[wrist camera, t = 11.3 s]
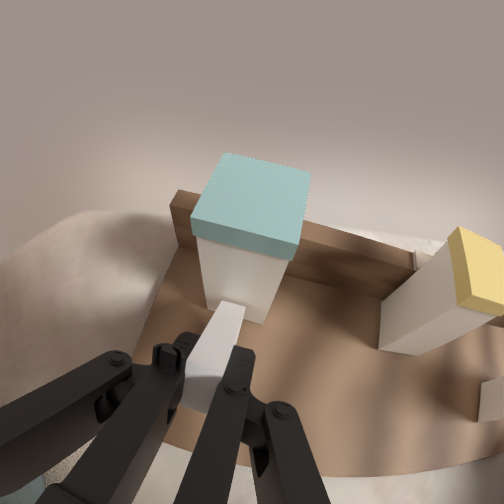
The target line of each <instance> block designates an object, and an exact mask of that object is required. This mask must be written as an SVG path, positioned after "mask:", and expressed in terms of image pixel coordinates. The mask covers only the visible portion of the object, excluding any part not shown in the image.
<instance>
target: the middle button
mask: <svg viewBox="0 0 504 504" xmlns="http://www.w3.org/2000/svg"><path fill="white" fill-rule="evenodd" d="M447 239H448V241H447V242H446V243H445V244H444V245H443V246H442V247H441V248H440V249H439V250H438V251H437V252H436V253H435V254H434V255H433V256H432V257H431V258H430V259H429V260H428V261H427V262H426V263H425V264H424V265H423V266H422V267H421V268H420V269H419V270H418V271H417V272H415V273H414V274H413V275H412V276H411V277H410V278H409V279H408V280H407V281H406V282H404V283H403V284H402V285H401V286H400V287H399V288H398V289H396V290H395V291H394V292H393V293H392V294H391V295H389V296H388V297H387V298H386V299H385V300H384V301H382V302H381V319H380V333H379V345H378V350H384V351H389V352H396V353H402V354H409V355H415V356H419V355H421V354H424V353H426V352H428V351H431V350H433V349H435V348H437V347H439V346H442V345H444V344H446V343H448V342H450V341H452V340H454V339H456V338H458V337H460V336H462V335H464V334H466V333H468V332H470V331H472V330H474V329H476V328H477V327H479V326H481V325H483V324H485V323H486V322H488V321H490V320H492V319H493V318H495V317H497V316H500V317H501V316H502V315H504V256H503V253H502V249H501V246H499V245H497V244H495V243H493V242H491V241H489V240H488V239H486V238H483V237H481V236H479V235H477V234H475V233H473V232H471V231H469V230H467V229H465V228H462V227H460V226H458V227H457V228H456V229H455V230H454V231H453V233H452V234H451V235H450V236H449V237H448V238H447Z"/></svg>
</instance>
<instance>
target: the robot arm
mask: <svg viewBox="0 0 504 504" xmlns="http://www.w3.org/2000/svg"><path fill="white" fill-rule="evenodd" d="M245 309H246V307H244V306H241V305H237V304H233V303H230V302H226V301H223V300H222V301H221V303H220V304H219V306H218V308H217V309H216V311H215V313H214V314H213V316H212V318H211V320H210V321H209V323H208V325H207V326H206V328H205V330H204V331H203V333H202V335H201V336H200V335H197V334H194V333H191V332H188V331H186V332H183V333H181V334H179V336H178V337H177V338H176V340H175V341H174V342H173V344H169V343H160V344H157V345H155V346H154V347H153V354H152V363H151V364H150V365H141V364H135V363H132V359H131V357H130V356H129V355H128V354H126V353H124V352H122V351H117V350H115V351H108V352H106V353H104V354H102V355H100V356H98V357H96V358H95V359H93V360H91V361H89V362H87V363H85V364H83V365H82V366H80V367H78V368H76V369H74V370H72V371H70V372H68V373H67V374H65V375H63V376H61V377H59V378H57V379H55V380H53V381H51V382H49V383H48V384H46V385H44V386H42V387H40V388H38V389H36V390H34V391H32V392H30V393H28V394H26V395H24V396H22V397H20V398H19V399H17V400H15V401H13V402H11V403H9V404H7V405H5V406H3V407H1V408H0V497H3V496H6V495H9V494H12V493H13V492H15V491H17V490H19V489H21V488H22V487H24V486H25V485H27V484H28V483H30V482H31V481H33V480H34V479H36V478H37V477H39V476H40V475H42V474H43V473H45V472H46V471H48V470H49V469H51V468H52V467H54V466H55V465H56V464H58V463H59V462H61V461H62V460H63V459H65V458H66V457H68V456H69V455H70V454H72V453H73V452H75V451H76V450H77V449H79V448H80V447H81V446H83V445H84V444H86V443H87V442H88V441H90V440H91V439H92V438H94V437H95V436H96V435H97V436H96V437H95V439H94V440H93V441H92V443H91V444H90V445H89V447H88V448H87V449H86V451H85V452H84V453H83V455H82V456H81V458H80V459H79V460H78V462H77V463H76V464H75V466H74V467H73V468H72V470H71V471H70V473H69V474H68V475H67V477H66V478H65V479H64V480H63V481H62V482H61V483H53V484H51V485H49V486H48V487H47V488H46V489H45V490H44V492H43V493H42V494H41V496H40V497H39V498H38V500H37V501H36V502H35V504H132V502H133V500H134V498H135V496H136V494H137V492H138V490H139V488H140V486H141V484H142V482H143V480H144V478H145V476H146V474H147V472H148V470H149V468H150V466H151V464H152V462H153V460H154V458H155V456H156V454H157V452H158V450H159V448H160V446H161V444H162V442H163V440H164V438H165V436H166V434H167V432H168V430H169V428H170V426H171V424H172V421H173V419H174V417H175V415H176V413H177V406H178V404H179V402H180V400H181V402H180V406H183V407H185V408H188V409H191V410H195V411H198V412H201V413H204V414H207V416H206V419H205V421H204V424H203V427H202V429H201V432H200V435H199V437H198V440H197V443H196V445H195V448H194V451H193V453H192V456H191V459H190V461H189V464H188V467H187V469H186V472H185V475H184V477H183V480H182V482H181V485H180V488H179V490H178V493H177V495H176V498H175V501H174V503H173V504H227V501H228V497H229V492H230V488H231V483H232V479H233V474H234V470H235V465H236V461H237V456H238V451H239V446H240V442H242V443H244V444H246V445H248V446H249V454H250V460H251V466H252V473H253V479H254V485H255V490H256V496H257V502H258V504H331V503H330V500H329V498H328V495H327V492H326V490H325V487H324V484H323V481H322V479H321V476H320V473H319V470H318V468H317V465H316V462H315V459H314V457H313V454H312V451H311V448H310V446H309V443H308V440H307V437H306V434H305V432H304V429H303V426H302V423H301V420H300V418H299V415H298V412H297V411H296V409H295V408H294V407H293V406H292V405H291V404H289V403H286V402H283V401H272V402H270V403H268V404H266V403H263V402H261V401H260V400H258V399H257V398H255V397H254V396H253V394H252V393H251V390H250V385H251V380H252V375H253V369H254V364H255V359H256V355H255V353H254V351H253V350H252V349H248V348H244V347H241V346H237V345H236V343H237V339H238V336H239V332H240V328H241V324H242V320H243V316H244V313H245Z"/></svg>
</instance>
